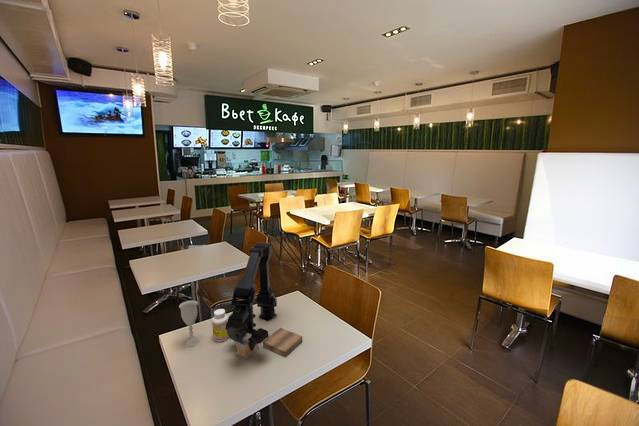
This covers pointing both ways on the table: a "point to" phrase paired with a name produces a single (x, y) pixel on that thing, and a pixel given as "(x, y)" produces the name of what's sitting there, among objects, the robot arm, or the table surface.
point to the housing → (245, 347)
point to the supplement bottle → (219, 325)
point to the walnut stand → (282, 342)
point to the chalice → (189, 319)
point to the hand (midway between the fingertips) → (247, 348)
